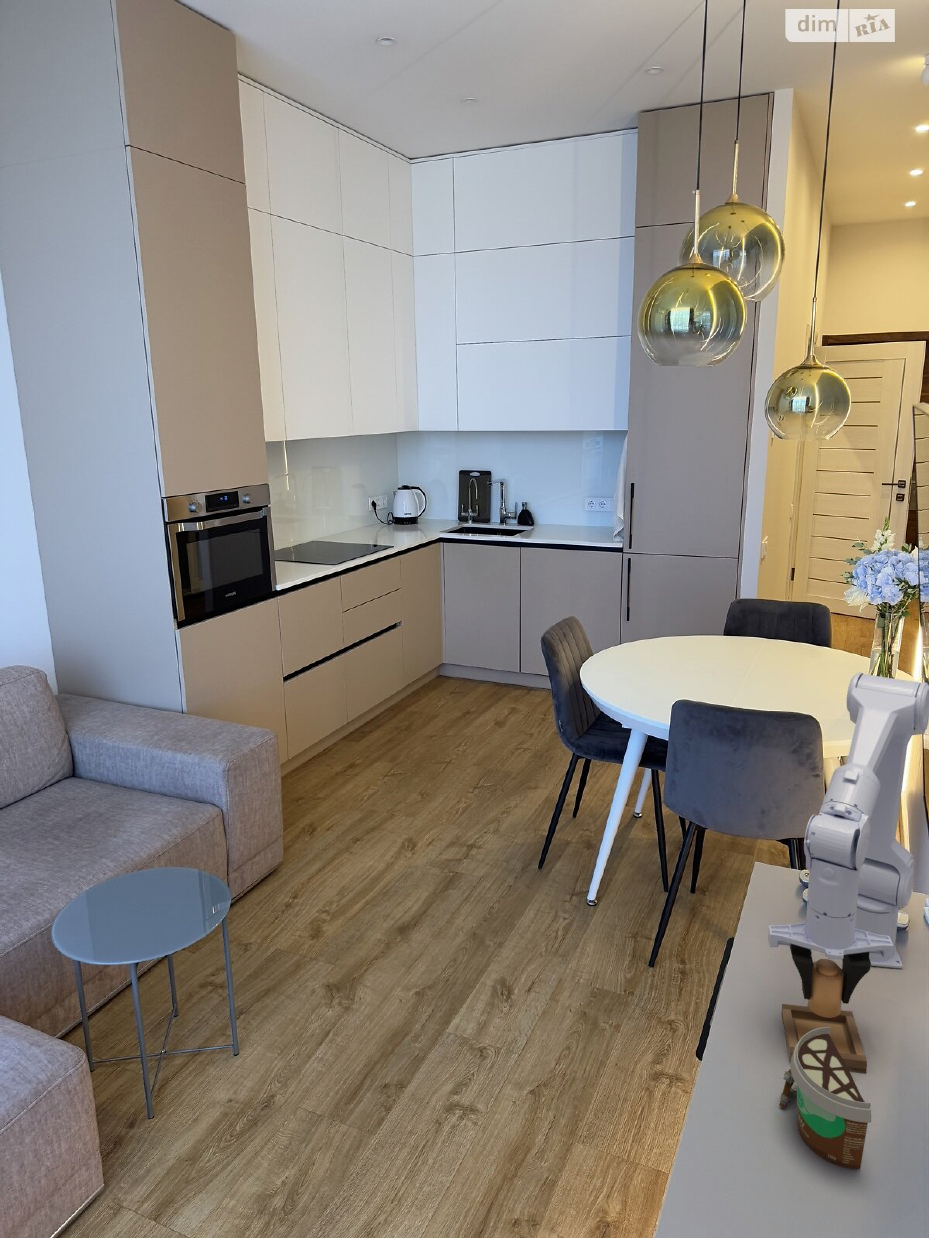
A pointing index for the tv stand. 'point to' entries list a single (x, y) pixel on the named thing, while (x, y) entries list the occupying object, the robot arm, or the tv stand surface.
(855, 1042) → the tray
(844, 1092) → the food container
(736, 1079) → the tv stand surface
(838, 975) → the wooden dowel peg
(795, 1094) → the wooden post with brackets
